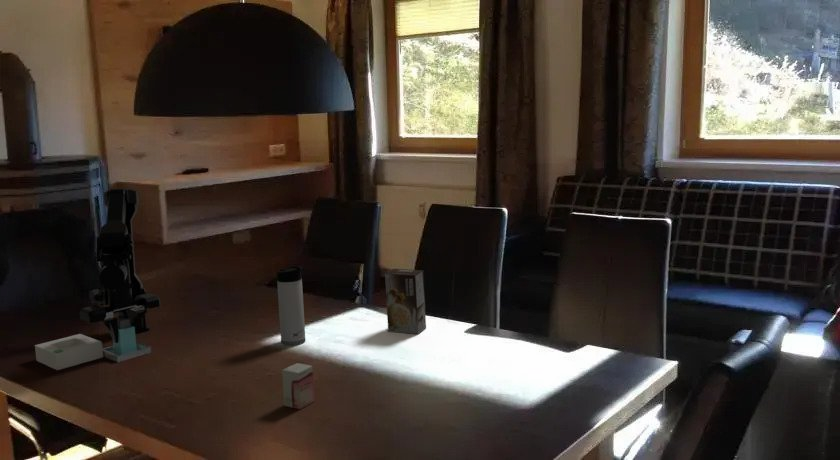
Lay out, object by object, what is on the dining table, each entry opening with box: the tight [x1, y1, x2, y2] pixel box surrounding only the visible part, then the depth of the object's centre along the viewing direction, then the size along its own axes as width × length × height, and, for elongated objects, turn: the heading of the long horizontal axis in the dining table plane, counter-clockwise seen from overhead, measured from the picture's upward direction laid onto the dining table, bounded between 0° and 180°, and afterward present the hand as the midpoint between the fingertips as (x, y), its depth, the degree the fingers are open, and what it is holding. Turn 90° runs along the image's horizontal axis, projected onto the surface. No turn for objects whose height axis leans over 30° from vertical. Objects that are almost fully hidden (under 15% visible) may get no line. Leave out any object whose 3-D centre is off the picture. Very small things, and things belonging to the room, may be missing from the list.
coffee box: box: [384, 268, 427, 335], centre depth 207 cm, size 9×6×16 cm
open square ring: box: [102, 341, 152, 363], centre depth 196 cm, size 9×9×2 cm
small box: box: [281, 362, 315, 410], centre depth 160 cm, size 5×4×8 cm
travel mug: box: [276, 265, 306, 347], centre depth 199 cm, size 6×7×20 cm
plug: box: [112, 318, 138, 355], centre depth 195 cm, size 4×4×9 cm
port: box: [34, 333, 104, 371], centre depth 193 cm, size 12×12×4 cm
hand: (124, 340), depth 195 cm, fingers closed on plug, 4 cm apart
